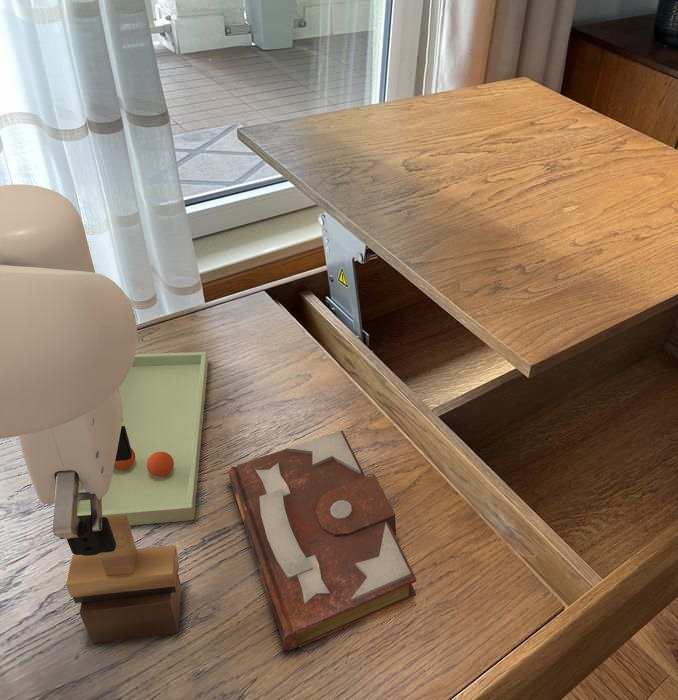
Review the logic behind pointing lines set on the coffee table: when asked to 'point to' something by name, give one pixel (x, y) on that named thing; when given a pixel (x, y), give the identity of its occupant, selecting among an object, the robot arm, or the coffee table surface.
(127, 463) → the orange ball
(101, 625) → the stand
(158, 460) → the orange-red sphere
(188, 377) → the tray
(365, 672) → the coffee table surface
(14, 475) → the coffee table surface
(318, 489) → the book
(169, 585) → the wooden block
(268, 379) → the coffee table surface
